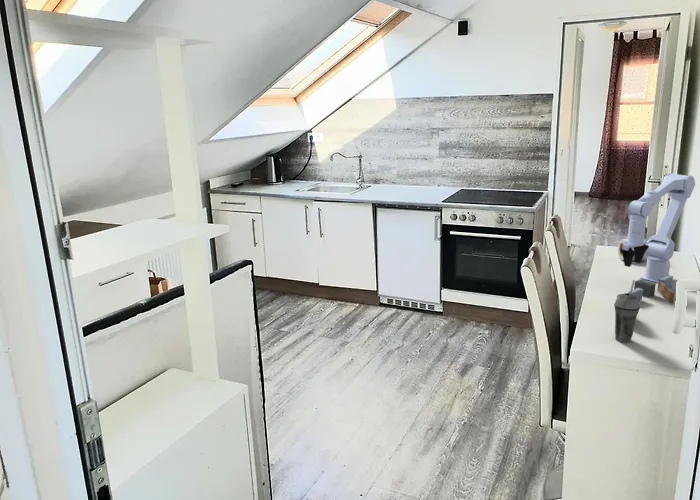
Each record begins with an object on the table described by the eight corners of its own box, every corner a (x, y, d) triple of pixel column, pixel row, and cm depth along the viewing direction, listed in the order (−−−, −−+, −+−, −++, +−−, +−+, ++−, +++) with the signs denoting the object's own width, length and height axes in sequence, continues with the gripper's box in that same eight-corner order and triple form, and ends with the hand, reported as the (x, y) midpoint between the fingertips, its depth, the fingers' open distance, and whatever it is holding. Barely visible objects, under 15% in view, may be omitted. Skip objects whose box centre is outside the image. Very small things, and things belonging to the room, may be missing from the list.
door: (657, 289, 218) (658, 280, 217) (659, 289, 218) (661, 280, 217) (670, 303, 204) (671, 293, 203) (673, 303, 204) (674, 293, 203)
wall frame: (666, 285, 223) (668, 275, 222) (672, 286, 222) (673, 276, 220) (626, 302, 207) (628, 291, 205) (631, 304, 205) (633, 293, 204)
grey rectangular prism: (638, 291, 218) (640, 279, 217) (654, 295, 213) (655, 283, 212) (633, 293, 216) (634, 281, 215) (648, 297, 211) (650, 285, 210)
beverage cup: (605, 335, 180) (612, 277, 175) (627, 334, 181) (634, 276, 175) (618, 345, 173) (625, 285, 168) (640, 343, 174) (648, 283, 168)
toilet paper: (624, 263, 253) (626, 241, 250) (617, 256, 263) (619, 236, 260) (647, 263, 252) (650, 242, 249) (639, 257, 261) (642, 236, 258)
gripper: (636, 226, 224) (632, 258, 228) (616, 232, 216) (613, 265, 220) (653, 229, 219) (649, 262, 222) (634, 235, 211) (630, 269, 214)
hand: (632, 264), depth 221 cm, fingers open, 7 cm apart
